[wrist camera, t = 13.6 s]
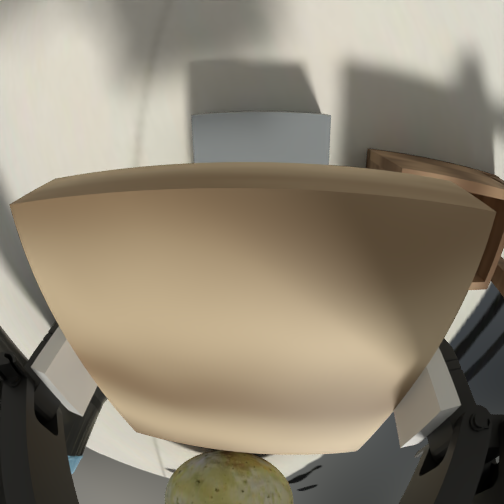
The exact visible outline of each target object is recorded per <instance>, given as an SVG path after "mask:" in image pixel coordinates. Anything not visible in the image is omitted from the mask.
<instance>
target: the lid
mask: <svg viewBox="0 0 504 504" xmlns="http://www.w3.org/2000/svg"><path fill="white" fill-rule="evenodd" d="M10 208H11V212H12V215H13V218H14V222H15V225H16V228H17V231H18V234H19V237H20V240H21V243H22V246H23V249H24V251H25V254H26V257H27V259H28V262H29V264H30V267H31V269H32V272H33V274H34V276H35V279H36V281H37V283H38V285H39V288H40V290H41V292H42V294H43V296H44V298H45V300H46V302H47V304H48V306H49V308H50V310H51V312H52V314H53V316H54V318H55V320H56V321H57V323H58V325H59V327H60V329H61V330H62V332H63V334H64V336H65V337H66V339H67V340H68V342H69V343H70V345H71V347H72V348H73V350H74V352H75V353H76V355H77V356H78V358H79V359H80V361H81V362H82V364H83V365H84V367H85V368H86V370H87V371H88V373H89V374H90V375H91V377H92V378H93V380H94V381H95V382H96V384H97V385H98V387H99V388H100V390H101V391H102V392H103V393H104V395H105V396H106V397H107V399H108V400H109V401H110V402H111V404H112V405H113V406H114V407H115V408H116V410H117V411H118V412H119V413H120V414H121V416H122V417H123V418H124V419H125V420H126V421H127V422H128V424H129V425H130V426H131V427H132V428H133V429H134V430H135V431H136V432H138V433H142V434H145V435H149V436H153V437H156V438H160V439H165V440H169V441H173V442H178V443H183V444H188V445H193V446H199V447H205V448H211V449H218V450H226V451H234V452H244V453H257V454H279V455H309V454H330V453H342V452H352V451H357V450H358V449H359V448H360V447H361V446H362V445H363V444H364V443H365V442H366V441H367V440H368V439H369V438H370V437H371V436H372V435H373V434H374V433H375V432H376V431H377V429H378V428H379V427H380V426H381V425H382V424H383V423H384V421H385V420H386V419H387V418H388V417H389V416H390V414H391V413H392V412H393V410H394V409H395V408H396V407H397V405H398V404H399V403H400V402H401V400H402V399H403V398H404V396H405V395H406V394H407V392H408V391H409V390H410V388H411V387H412V386H413V384H414V383H415V382H416V380H417V379H418V377H419V376H420V374H421V373H422V371H423V370H424V368H425V367H426V366H427V365H428V363H429V362H430V360H431V358H432V357H433V355H434V354H435V352H436V350H437V349H438V347H439V346H440V344H441V342H442V340H443V339H444V337H445V335H446V334H447V332H448V330H449V328H450V326H451V324H452V323H453V321H454V319H455V317H456V315H457V313H458V311H459V309H460V307H461V305H462V303H463V301H464V299H465V297H466V294H467V292H468V290H469V288H470V286H471V283H472V281H473V279H474V276H475V274H476V271H477V269H478V266H479V264H480V261H481V258H482V256H483V253H484V250H485V247H486V244H487V241H488V238H489V235H490V232H491V229H492V226H493V222H494V219H495V215H496V211H494V210H493V209H492V208H490V207H489V206H488V205H486V204H485V203H483V202H482V201H480V200H479V199H478V198H476V197H475V196H473V195H472V194H470V193H469V192H467V191H466V190H464V189H462V188H461V187H459V186H458V185H456V184H454V183H453V182H451V181H448V180H442V179H437V178H431V177H426V176H420V175H413V174H407V173H400V172H392V171H385V170H376V169H368V168H358V167H347V166H335V165H322V164H304V163H279V162H213V163H188V164H171V165H157V166H145V167H135V168H125V169H116V170H108V171H101V172H93V173H87V174H80V175H74V176H68V177H62V178H57V179H54V180H52V181H50V182H48V183H46V184H44V185H42V186H41V187H39V188H37V189H35V190H33V191H32V192H30V193H28V194H26V195H25V196H23V197H21V198H20V199H18V200H16V201H15V202H13V203H11V204H10Z"/></svg>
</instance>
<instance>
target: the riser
mask: <svg viewBox="0 0 504 504" xmlns="http://www.w3.org/2000/svg"><path fill="white" fill-rule="evenodd" d="M330 125H331V115H327V114H320V113H305V112H282V111H240V112H217V113H204V114H196V115H192V134H193V150H194V163H213V162H279V163H304V164H322V165H329V148H330Z"/></svg>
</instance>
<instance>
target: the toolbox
mask: <svg viewBox="0 0 504 504" xmlns="http://www.w3.org/2000/svg"><path fill="white" fill-rule="evenodd" d="M366 168H368V169H376V170H385V171H392V172H400V173H407V174H413V175H420V176H426V177H431V178H437V179H442V180H448V181H451V182H453V183H454V184H456V185H458V186H459V187H461V188H462V189H464V190H466V191H467V192H469V193H470V194H472V195H473V196H475V197H476V198H478V199H479V200H480V201H482V202H483V203H485V204H486V205H488V206H489V207H490V208H492V209H493V210H494V211H496V215H495V219H494V222H493V226H492V229H491V232H490V235H489V238H488V241H487V244H486V247H485V250H484V253H483V256H482V258H481V261H480V264H479V266H478V269H477V271H476V274H475V276H474V279H473V281H472V283H471V286H470V288H469V290H480V289H487V288H488V285H489V283H490V281H492V283H493V284H494V285H495V286H496V288H497V289H498V290H499V291H500V293H501V294H502V295H503V297H504V259H503V258H502V257H501V254H502V251H503V248H504V181H503V180H502V179H500V178H499V177H498V176H496V175H494V174H490V173H487V172H483V171H480V170H476V169H473V168H469V167H465V166H461V165H457V164H453V163H448V162H444V161H439V160H435V159H430V158H425V157H420V156H414V155H408V154H403V153H396V152H390V151H383V150H376V149H368V151H367V162H366Z"/></svg>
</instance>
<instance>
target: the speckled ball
mask: <svg viewBox="0 0 504 504" xmlns="http://www.w3.org/2000/svg"><path fill="white" fill-rule="evenodd" d="M165 504H293V495H292V491H291V488H290V486H289V484H288V482H287V480H286V478H285V477H284V476H283V474H282V473H281V472H280V471H279V470H278V469H277V468H276V467H275V466H273V465H272V464H271V463H269V462H268V461H266V460H264V459H263V458H260V457H258V456H256V455H253V454H250V453H244V452H234V451H226V450H216V451H210V452H206V453H203V454H200V455H197V456H195V457H193V458H191V459H189V460H188V461H186V462H185V463H183V464H182V465H181V466H180V467H179V468H178V469H177V470H176V471H175V472H174V473H173V475H172V476H171V478H170V480H169V482H168V485H167V487H166V492H165Z"/></svg>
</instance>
